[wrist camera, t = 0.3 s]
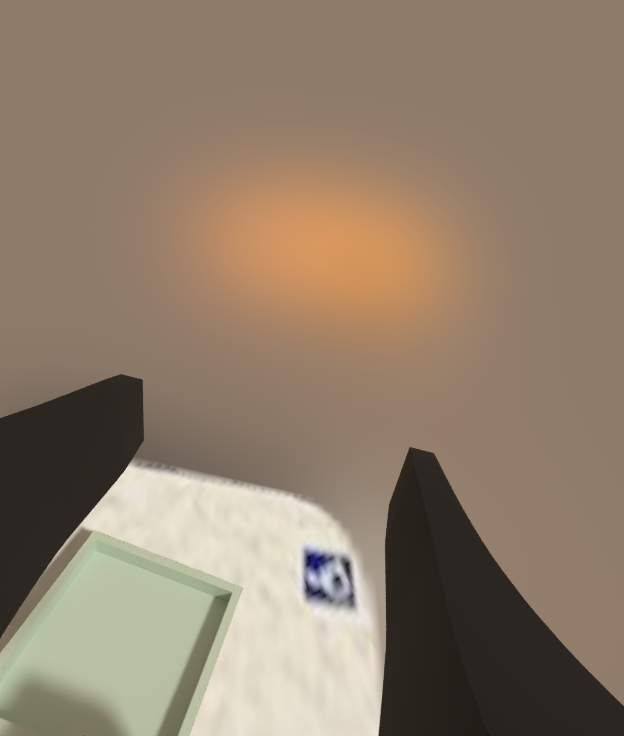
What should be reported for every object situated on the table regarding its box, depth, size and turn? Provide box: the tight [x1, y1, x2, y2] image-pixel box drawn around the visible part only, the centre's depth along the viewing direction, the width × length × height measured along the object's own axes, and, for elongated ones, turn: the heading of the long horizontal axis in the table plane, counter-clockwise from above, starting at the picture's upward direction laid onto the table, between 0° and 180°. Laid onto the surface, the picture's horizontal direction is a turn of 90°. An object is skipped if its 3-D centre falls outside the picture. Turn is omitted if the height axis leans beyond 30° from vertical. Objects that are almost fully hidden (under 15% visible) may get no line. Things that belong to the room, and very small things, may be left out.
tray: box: [0, 531, 243, 736], centre depth 24 cm, size 10×10×2 cm
